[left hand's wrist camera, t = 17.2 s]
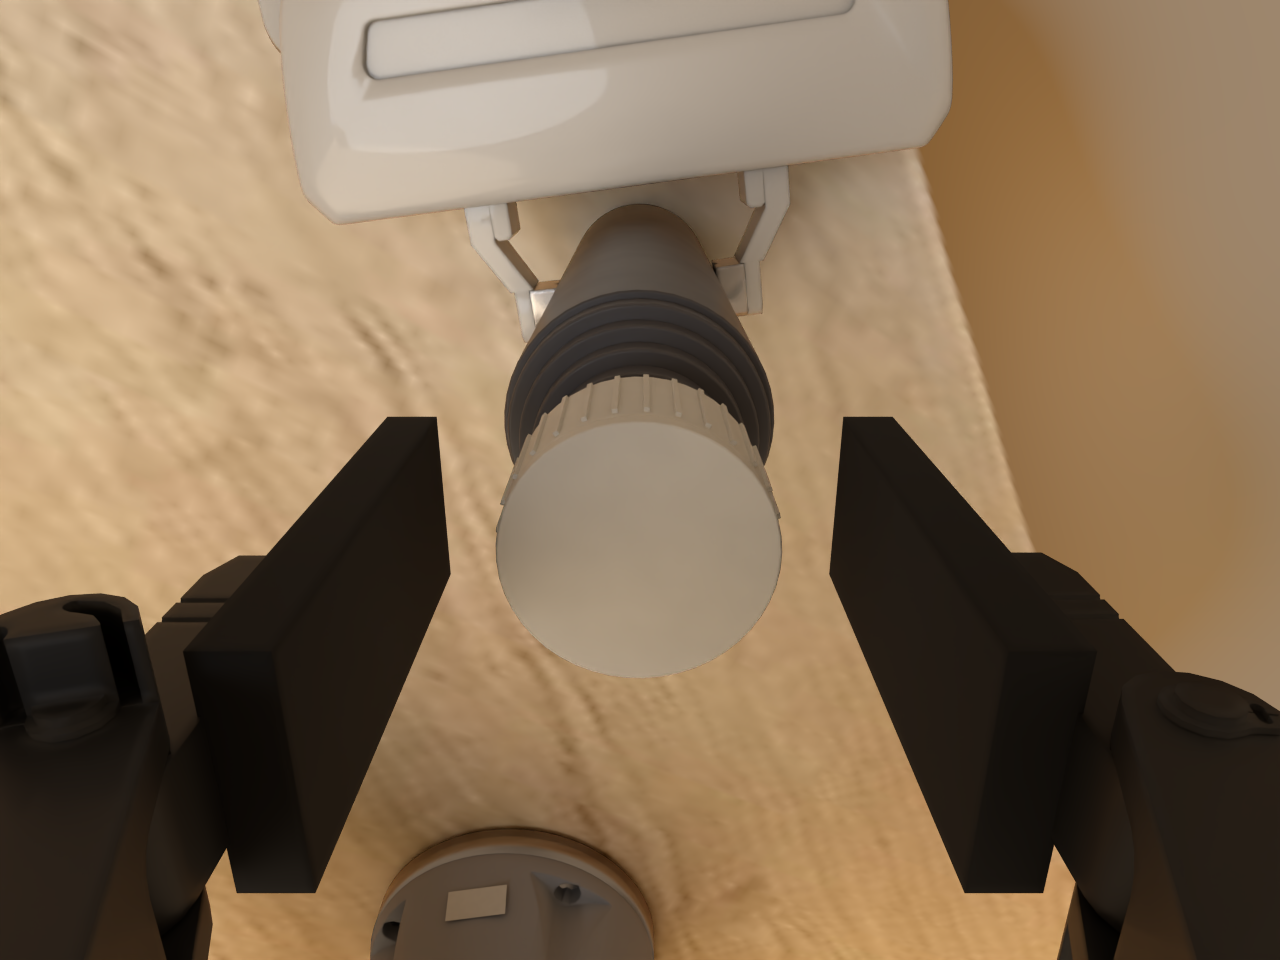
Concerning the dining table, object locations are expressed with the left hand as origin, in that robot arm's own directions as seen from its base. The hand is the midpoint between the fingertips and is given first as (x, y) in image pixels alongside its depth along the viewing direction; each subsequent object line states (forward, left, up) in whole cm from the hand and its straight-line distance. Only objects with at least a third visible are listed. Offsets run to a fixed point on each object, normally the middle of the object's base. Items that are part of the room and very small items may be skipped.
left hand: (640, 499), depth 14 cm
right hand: (-1, 0, -17) cm, 17 cm away
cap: (0, 0, +2) cm, 2 cm away
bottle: (0, 0, -24) cm, 24 cm away
